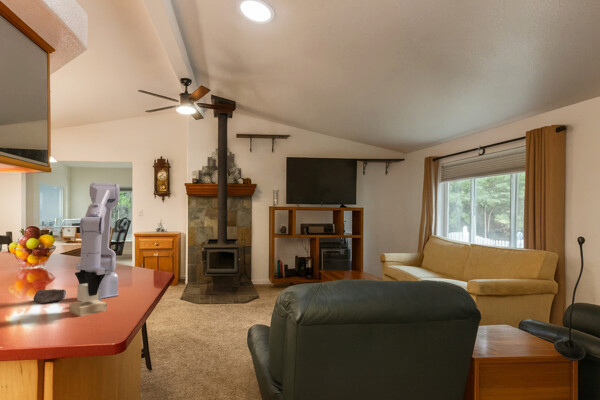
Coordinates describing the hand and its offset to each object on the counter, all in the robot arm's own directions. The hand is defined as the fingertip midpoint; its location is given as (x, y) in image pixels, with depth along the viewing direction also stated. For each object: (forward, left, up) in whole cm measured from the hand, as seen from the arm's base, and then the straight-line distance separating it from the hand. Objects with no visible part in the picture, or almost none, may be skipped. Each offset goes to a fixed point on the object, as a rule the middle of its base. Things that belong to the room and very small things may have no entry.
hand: (88, 294), depth 115 cm
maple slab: (0, 0, -6) cm, 6 cm away
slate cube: (-4, -7, -6) cm, 10 cm away
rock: (+1, -25, -6) cm, 26 cm away
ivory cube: (0, 0, -2) cm, 2 cm away
